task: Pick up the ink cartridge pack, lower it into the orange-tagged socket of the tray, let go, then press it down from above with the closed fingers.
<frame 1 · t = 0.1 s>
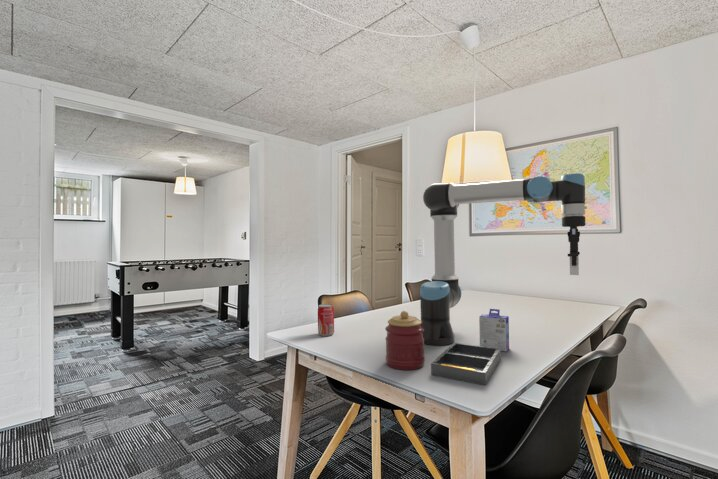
hand: (574, 273, 133), 28 cm above the table, tool pointing down, fingers open, 13 cm apart
ink cartridge box: (494, 348, 135), on the table
tray: (467, 366, 116), on the table
soda can: (326, 335, 157), on the table
canister: (405, 364, 120), on the table
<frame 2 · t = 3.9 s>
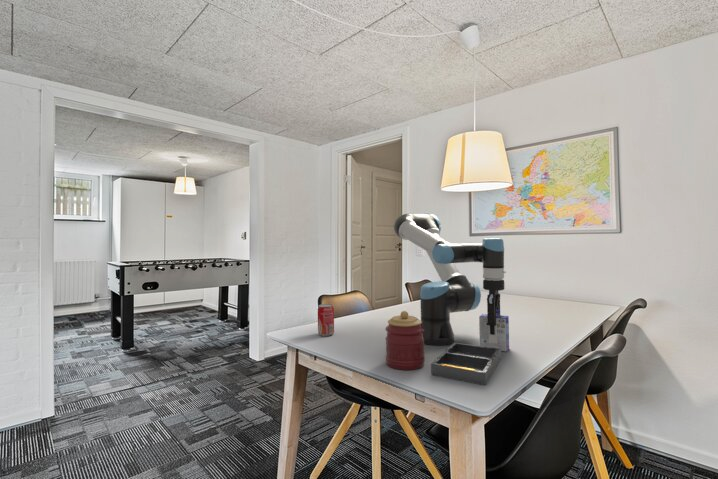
hand: (494, 340, 135), 3 cm above the table, tool pointing down, fingers closed on ink cartridge box, 5 cm apart
ink cartridge box: (494, 348, 135), on the table, touching gripper
everything else where it was.
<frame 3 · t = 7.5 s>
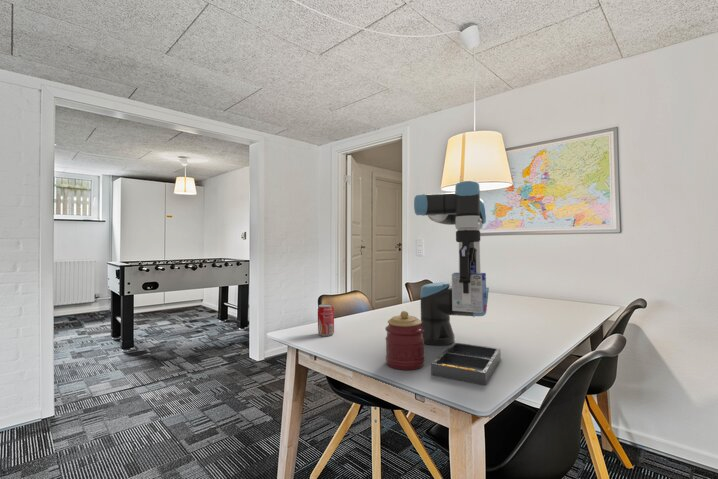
hand: (469, 302, 115), 21 cm above the table, tool pointing down, fingers closed on ink cartridge box, 5 cm apart
ink cartridge box: (469, 311, 115), point 18 cm above the table, touching gripper
everything else where it was.
when the fingers open (5 cm above the table, at t = 11.3 s): ink cartridge box drops 1 cm, resting on tray.
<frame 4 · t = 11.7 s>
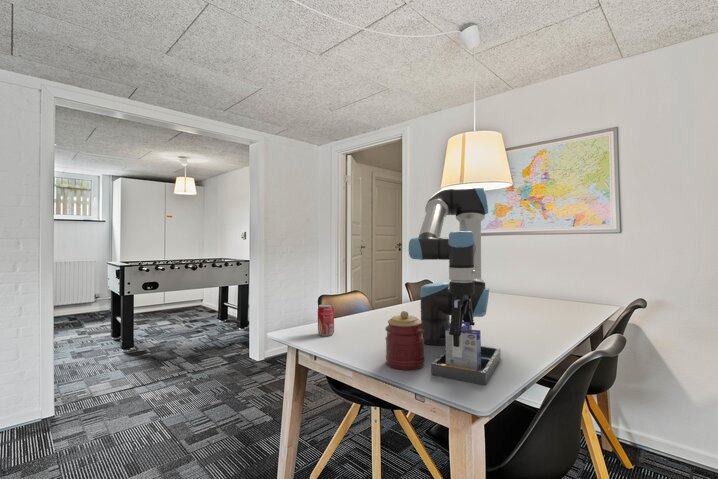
hand: (462, 351, 111), 7 cm above the table, tool pointing down, fingers open, 11 cm apart
ink cartridge box: (463, 369, 111), point 1 cm above the table, touching tray
everything else where it was.
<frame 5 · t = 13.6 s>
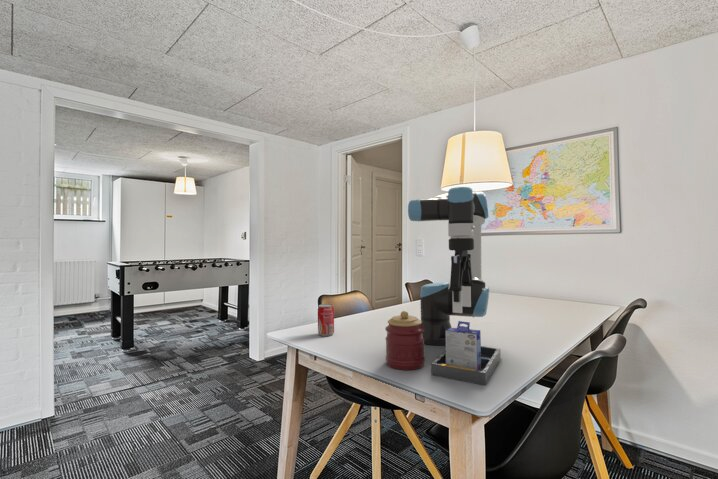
hand: (462, 309, 111), 20 cm above the table, tool pointing down, fingers open, 10 cm apart
nothing on the table moved.
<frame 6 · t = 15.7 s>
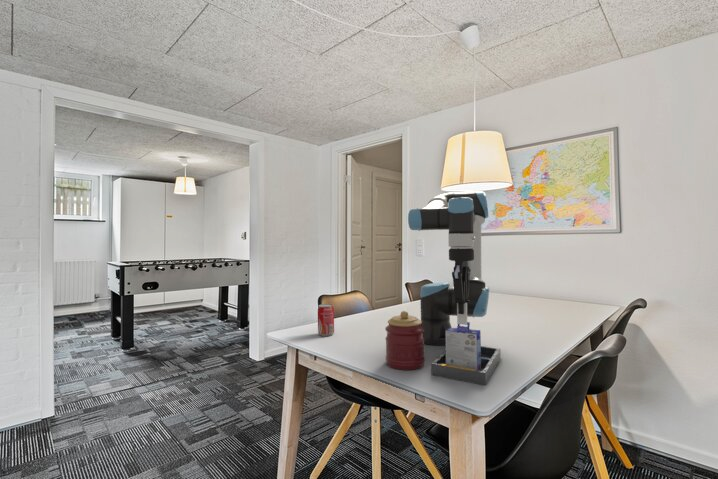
hand: (462, 323, 111), 15 cm above the table, tool pointing down, fingers closed
nothing on the table moved.
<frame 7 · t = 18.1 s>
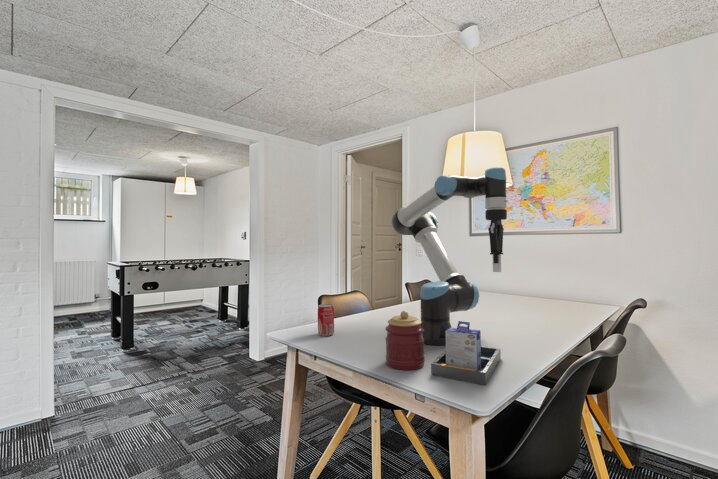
hand: (497, 271, 135), 29 cm above the table, tool pointing down, fingers closed
nothing on the table moved.
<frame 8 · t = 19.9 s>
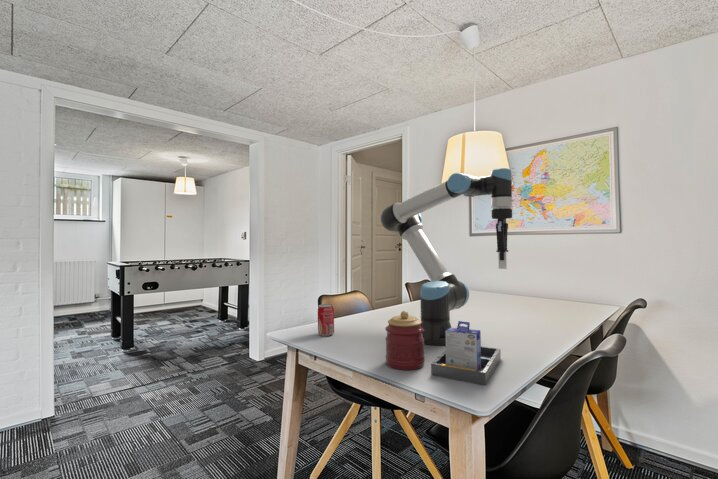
hand: (502, 268, 140), 29 cm above the table, tool pointing down, fingers closed
nothing on the table moved.
at the end: ink cartridge box 0.2 cm from the target spot on the tray, point 0.8 cm above the tray's base; ink cartridge box tilted 0°; the gripper is holding nothing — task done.
